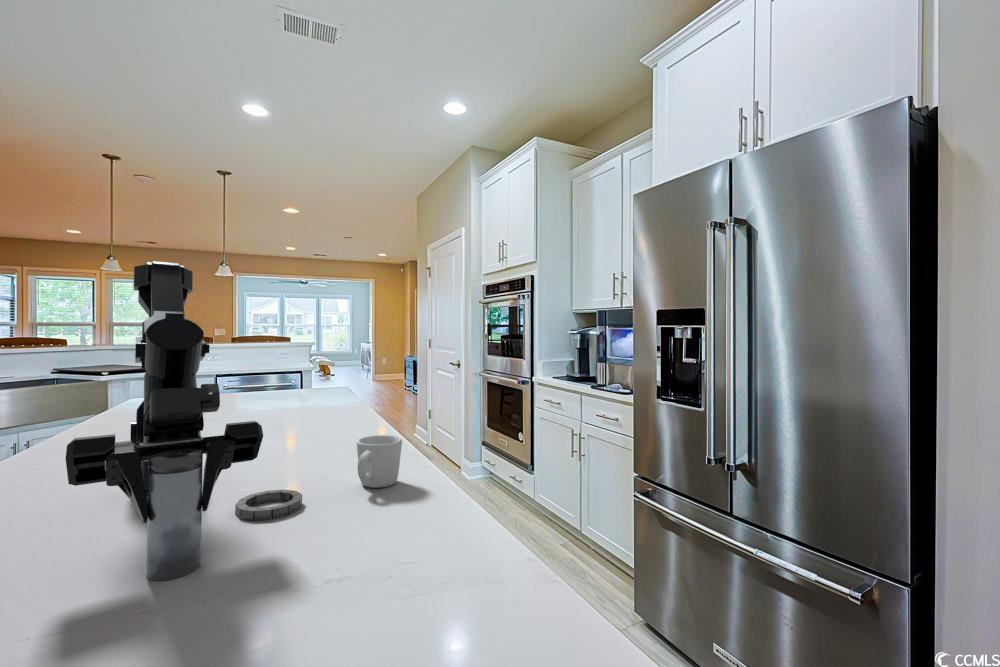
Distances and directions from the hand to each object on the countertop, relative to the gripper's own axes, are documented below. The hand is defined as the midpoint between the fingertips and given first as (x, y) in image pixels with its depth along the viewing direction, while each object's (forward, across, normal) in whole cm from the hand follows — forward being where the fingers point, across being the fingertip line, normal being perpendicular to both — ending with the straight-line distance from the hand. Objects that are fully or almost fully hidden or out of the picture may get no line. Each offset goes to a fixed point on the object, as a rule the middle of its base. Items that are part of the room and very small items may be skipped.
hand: (176, 514), depth 50 cm
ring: (-6, +13, +15) cm, 20 cm away
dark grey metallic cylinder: (+4, 0, +6) cm, 7 cm away
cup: (-6, +30, +15) cm, 34 cm away
